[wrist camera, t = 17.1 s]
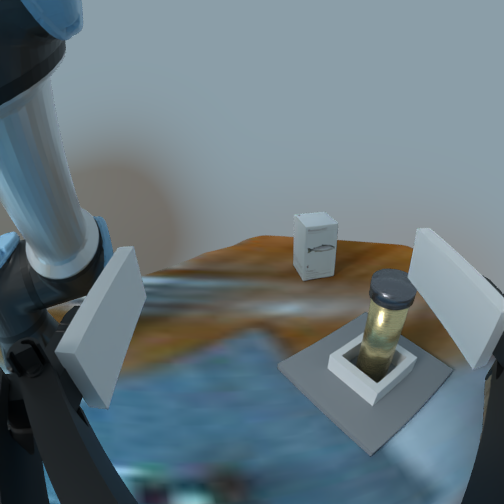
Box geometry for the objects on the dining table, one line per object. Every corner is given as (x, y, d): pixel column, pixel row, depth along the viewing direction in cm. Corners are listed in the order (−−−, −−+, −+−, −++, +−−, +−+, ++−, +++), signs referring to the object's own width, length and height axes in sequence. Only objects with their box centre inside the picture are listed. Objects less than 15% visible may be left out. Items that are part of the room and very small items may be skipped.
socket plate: (277, 368, 45) (277, 350, 43) (365, 316, 54) (368, 298, 52) (370, 456, 30) (379, 442, 28) (451, 373, 39) (459, 356, 37)
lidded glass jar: (344, 369, 42) (361, 279, 35) (369, 351, 45) (389, 264, 38) (372, 392, 38) (400, 302, 31) (396, 371, 41) (425, 283, 33)
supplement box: (302, 282, 66) (304, 227, 60) (292, 265, 72) (293, 213, 66) (334, 276, 67) (339, 223, 61) (322, 260, 73) (325, 210, 67)
